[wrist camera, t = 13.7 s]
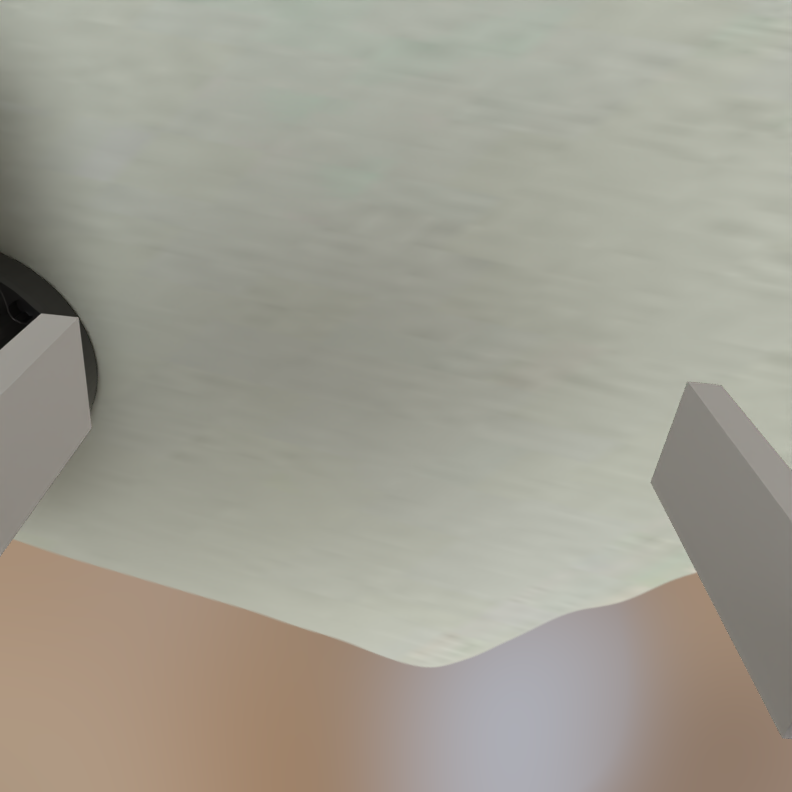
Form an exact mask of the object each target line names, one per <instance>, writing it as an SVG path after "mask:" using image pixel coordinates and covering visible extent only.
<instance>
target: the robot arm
mask: <svg viewBox="0 0 792 792" xmlns="http://www.w3.org/2000/svg"><path fill="white" fill-rule="evenodd" d="M96 388H97V367H96V360H95V356H94V352H93V349H92V345H91V343H90V340H89V338H88V335H87V333H86V331H85V329H84V327H83V325H82V324H81V322H80V320H79V317H77V316H76V314H75V313H74V311H73V310H72V309H71V307H70V306H69V305H68V303H67V302H66V301H65V300H64V299H63V298H62V296H61V295H60V294H59V293H58V292H57V291H56V290H55V289H54V288H53V287H51V286H50V285H49V284H48V283H47V282H46V281H45V280H43V279H42V278H41V277H40V276H38V275H37V274H36V273H34V272H33V271H32V270H30V269H29V268H27V267H25V266H24V265H22V264H21V263H19V262H17V261H15V260H14V259H12V258H10V257H8V256H6V255H3V254H1V253H0V556H1V555H2V553H3V552H4V550H5V549H6V548H7V546H8V545H9V543H10V542H11V541H12V539H13V538H14V536H15V535H16V534H17V532H18V531H19V529H20V528H21V527H22V525H23V524H24V522H25V521H26V520H27V518H28V517H29V515H30V514H31V513H32V511H33V510H34V508H35V507H36V505H37V504H38V503H39V501H40V500H41V498H42V497H43V496H44V494H45V493H46V491H47V490H48V489H49V487H50V486H51V484H52V483H53V482H54V480H55V479H56V477H57V476H58V475H59V473H60V472H61V470H62V469H63V468H64V466H65V465H66V463H67V462H68V461H69V459H70V458H71V456H72V455H73V454H74V452H75V451H76V449H77V448H78V447H79V445H80V444H81V442H82V441H83V440H84V438H85V437H86V435H87V434H88V433H89V431H90V430H91V428H92V425H91V417H90V409H91V407H92V404H93V401H94V398H95V394H96ZM651 484H652V486H653V488H654V490H655V492H656V494H657V496H658V498H659V500H660V501H661V503H662V505H663V507H664V509H665V511H666V513H667V515H668V517H669V519H670V521H671V523H672V525H673V527H674V529H675V531H676V533H677V535H678V536H679V538H680V540H681V542H682V544H683V546H684V548H685V550H686V552H687V554H688V556H689V558H690V560H691V562H692V564H693V566H694V568H695V570H696V571H697V573H698V575H699V577H700V579H701V581H702V583H703V585H704V587H705V589H706V591H707V593H708V595H709V597H710V598H711V601H712V602H713V605H714V606H715V608H716V610H717V612H718V614H719V616H720V618H721V620H722V622H723V624H724V626H725V628H726V630H727V632H728V634H729V636H730V638H731V640H732V641H733V643H734V645H735V647H736V649H737V651H738V653H739V655H740V657H741V659H742V661H743V663H744V665H745V667H746V669H747V671H748V673H749V675H750V676H751V678H752V680H753V682H754V684H755V686H756V688H757V690H758V692H759V694H760V696H761V698H762V700H763V702H764V704H765V705H766V707H767V710H768V711H769V713H770V715H771V717H772V719H773V721H774V723H775V725H776V727H777V729H778V731H779V733H780V735H781V737H782V738H787V739H792V470H791V469H790V468H789V467H788V465H787V464H786V463H785V462H784V461H783V459H782V458H781V457H780V456H779V454H778V453H777V452H776V451H775V450H774V448H773V447H772V446H771V445H770V444H769V442H768V441H767V440H766V439H765V437H764V436H763V435H762V434H761V433H760V431H759V430H758V429H757V428H756V427H755V425H754V424H753V423H752V422H751V420H750V419H749V418H748V417H747V416H746V414H745V413H744V412H743V411H742V410H741V408H740V407H739V406H738V405H737V403H736V402H735V401H734V400H733V399H732V397H731V396H730V395H729V394H728V393H727V391H726V390H725V389H724V388H723V386H722V385H716V384H707V383H697V382H688V381H687V384H686V387H685V390H684V392H683V395H682V398H681V401H680V403H679V406H678V409H677V412H676V414H675V417H674V420H673V423H672V425H671V428H670V431H669V433H668V436H667V439H666V442H665V444H664V447H663V450H662V453H661V455H660V458H659V461H658V464H657V466H656V469H655V472H654V475H653V477H652V480H651Z"/></svg>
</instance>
